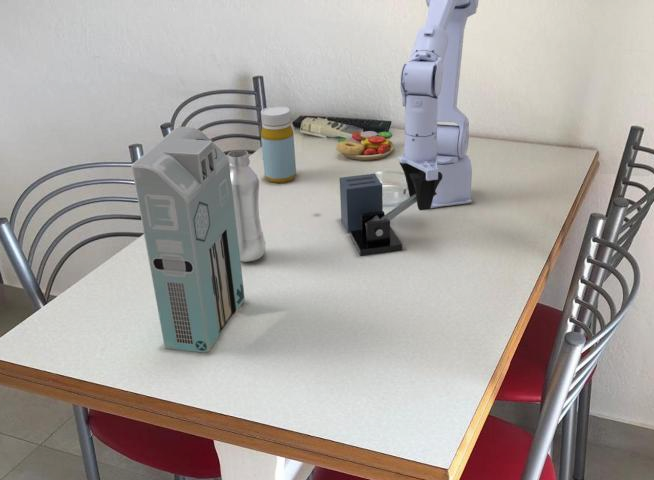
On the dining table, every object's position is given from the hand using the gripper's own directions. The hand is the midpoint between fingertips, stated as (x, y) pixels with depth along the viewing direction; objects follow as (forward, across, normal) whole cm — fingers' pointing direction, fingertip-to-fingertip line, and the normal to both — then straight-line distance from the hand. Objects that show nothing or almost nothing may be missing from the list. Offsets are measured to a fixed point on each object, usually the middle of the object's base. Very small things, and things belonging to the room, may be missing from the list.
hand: (419, 203), depth 161 cm
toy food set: (+7, -48, +1) cm, 49 cm away
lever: (+2, 0, -3) cm, 4 cm away
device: (+7, +21, -43) cm, 48 cm away
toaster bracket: (+7, 0, -9) cm, 11 cm away
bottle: (+7, -38, -21) cm, 44 cm away
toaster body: (+7, -9, -9) cm, 15 cm away
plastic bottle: (+7, -1, -33) cm, 33 cm away
